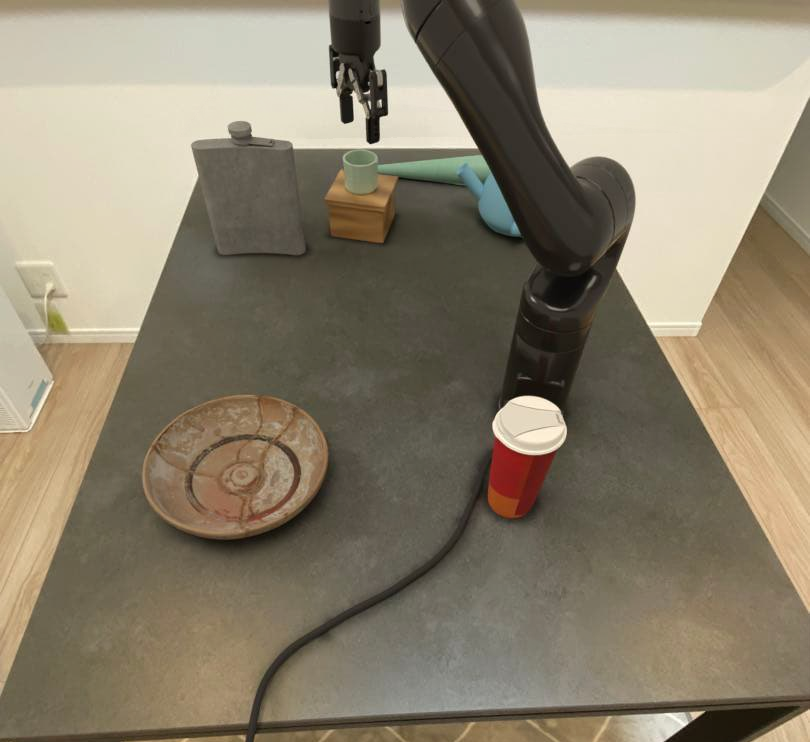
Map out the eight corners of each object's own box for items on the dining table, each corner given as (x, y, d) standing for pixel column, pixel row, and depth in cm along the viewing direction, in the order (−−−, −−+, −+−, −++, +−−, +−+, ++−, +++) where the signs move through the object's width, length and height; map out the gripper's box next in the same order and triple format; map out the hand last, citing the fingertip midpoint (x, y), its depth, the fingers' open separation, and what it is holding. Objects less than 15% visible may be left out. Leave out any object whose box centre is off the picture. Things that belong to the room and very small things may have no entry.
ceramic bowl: (365, 458, 82) (363, 433, 78) (257, 587, 71) (249, 566, 67) (232, 396, 89) (224, 369, 84) (115, 506, 77) (99, 481, 73)
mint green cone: (365, 138, 122) (496, 149, 120) (366, 167, 127) (492, 178, 125) (360, 151, 119) (495, 162, 117) (361, 180, 124) (491, 191, 122)
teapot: (554, 256, 110) (572, 184, 99) (446, 244, 111) (452, 172, 101) (557, 200, 121) (572, 130, 110) (458, 190, 122) (464, 120, 111)
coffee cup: (536, 475, 81) (562, 391, 69) (546, 524, 77) (576, 445, 64) (474, 475, 81) (490, 392, 69) (481, 526, 77) (498, 446, 64)
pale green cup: (373, 198, 107) (372, 168, 102) (340, 193, 107) (338, 163, 103) (381, 181, 110) (380, 151, 106) (349, 177, 110) (348, 147, 106)
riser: (384, 245, 111) (384, 207, 105) (327, 237, 112) (324, 199, 106) (397, 214, 117) (398, 176, 111) (343, 206, 118) (340, 169, 112)
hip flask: (216, 255, 108) (184, 131, 91) (219, 242, 110) (189, 119, 94) (305, 255, 109) (289, 132, 92) (306, 242, 111) (291, 120, 94)
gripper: (308, -2, 90) (320, 121, 103) (356, 28, 83) (362, 155, 97) (352, -10, 92) (358, 111, 105) (402, 18, 85) (401, 144, 99)
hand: (360, 132), depth 101 cm, fingers open, 8 cm apart
